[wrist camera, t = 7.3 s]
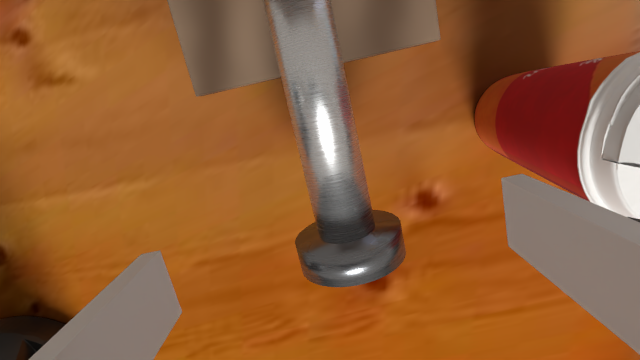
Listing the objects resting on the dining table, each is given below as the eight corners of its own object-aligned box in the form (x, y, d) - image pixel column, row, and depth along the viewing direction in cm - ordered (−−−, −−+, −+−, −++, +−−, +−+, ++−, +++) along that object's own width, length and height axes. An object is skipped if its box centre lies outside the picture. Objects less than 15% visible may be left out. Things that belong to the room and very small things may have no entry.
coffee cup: (590, 106, 27) (888, 130, 13) (510, 187, 29) (694, 288, 15) (514, 32, 26) (747, -34, 12) (435, 121, 28) (553, 159, 13)
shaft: (305, 245, 22) (298, 296, 17) (222, -83, 18) (178, -156, 13) (394, 227, 22) (417, 273, 17) (332, -112, 18) (335, -201, 12)
